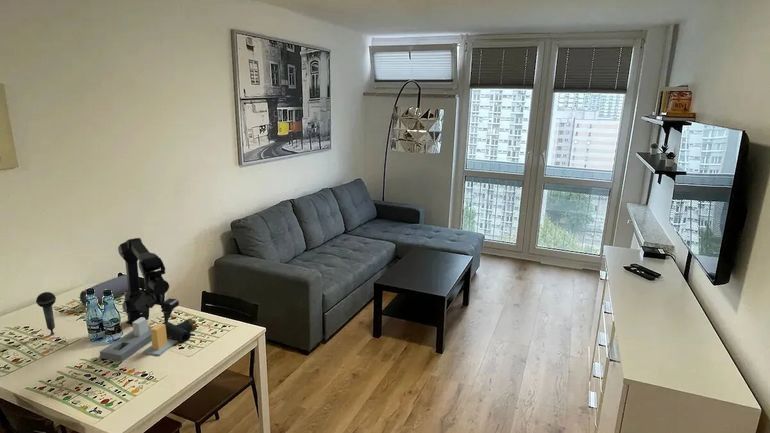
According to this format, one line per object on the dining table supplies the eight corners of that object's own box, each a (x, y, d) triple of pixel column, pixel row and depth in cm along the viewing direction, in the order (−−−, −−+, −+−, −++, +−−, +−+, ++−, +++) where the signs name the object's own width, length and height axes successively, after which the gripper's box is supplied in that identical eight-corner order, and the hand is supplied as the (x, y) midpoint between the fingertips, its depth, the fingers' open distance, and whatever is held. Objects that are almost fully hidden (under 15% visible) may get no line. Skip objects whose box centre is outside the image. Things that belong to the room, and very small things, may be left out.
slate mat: (142, 352, 180) (142, 351, 180) (161, 339, 190) (161, 338, 190) (159, 355, 178) (159, 354, 178) (177, 341, 188) (177, 340, 188)
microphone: (39, 336, 190) (31, 293, 184) (57, 329, 195) (49, 288, 190) (48, 340, 186) (39, 297, 181) (65, 333, 192) (58, 291, 187)
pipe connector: (182, 313, 203) (203, 322, 195) (183, 323, 204) (204, 333, 196) (158, 324, 193) (179, 334, 186) (160, 334, 195) (180, 345, 187)
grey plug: (134, 341, 188) (132, 322, 186) (143, 335, 193) (141, 317, 190) (140, 342, 187) (138, 323, 185) (149, 336, 192) (147, 318, 190)
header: (100, 358, 175) (99, 351, 175) (141, 331, 196) (141, 325, 195) (121, 361, 173) (120, 355, 173) (161, 334, 194) (160, 328, 193)
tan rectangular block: (152, 348, 182) (150, 329, 180) (161, 342, 187) (159, 323, 184) (158, 349, 181) (156, 330, 179) (167, 343, 186) (165, 324, 184)
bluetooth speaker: (122, 289, 237) (119, 272, 234) (134, 292, 234) (132, 275, 231) (80, 307, 216) (77, 288, 214) (93, 310, 213) (90, 291, 211)
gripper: (117, 291, 172) (122, 327, 176) (158, 297, 168) (162, 334, 172) (138, 280, 183) (143, 314, 187) (178, 286, 179) (181, 320, 183)
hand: (156, 321), depth 182 cm, fingers open, 9 cm apart
